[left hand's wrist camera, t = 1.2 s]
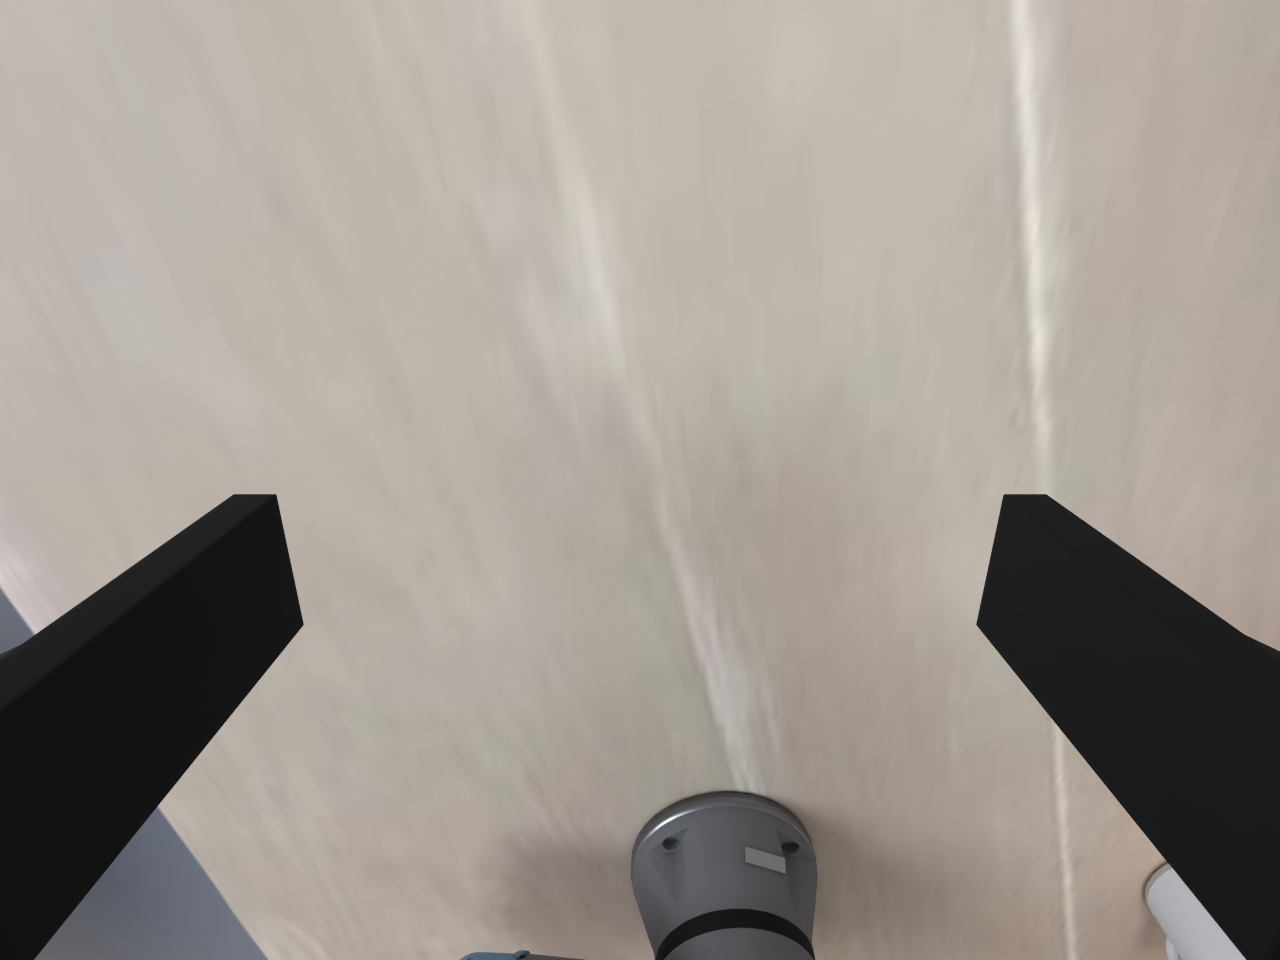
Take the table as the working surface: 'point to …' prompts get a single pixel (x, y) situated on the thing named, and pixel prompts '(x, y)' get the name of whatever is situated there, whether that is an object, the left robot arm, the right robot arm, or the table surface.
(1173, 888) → the mug
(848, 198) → the table surface
